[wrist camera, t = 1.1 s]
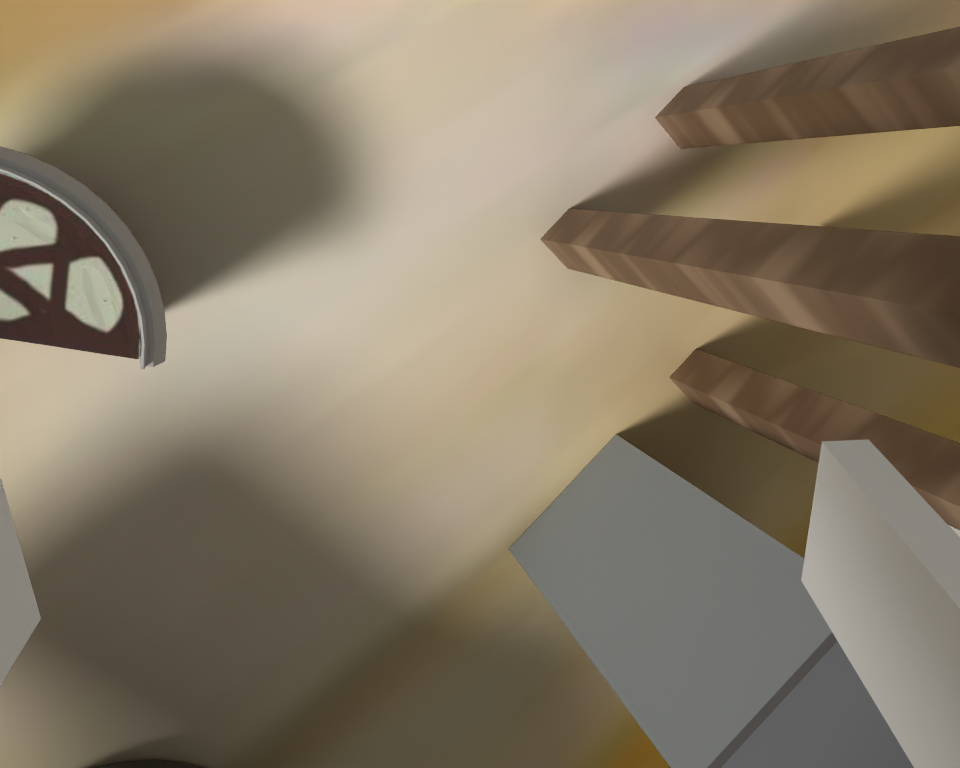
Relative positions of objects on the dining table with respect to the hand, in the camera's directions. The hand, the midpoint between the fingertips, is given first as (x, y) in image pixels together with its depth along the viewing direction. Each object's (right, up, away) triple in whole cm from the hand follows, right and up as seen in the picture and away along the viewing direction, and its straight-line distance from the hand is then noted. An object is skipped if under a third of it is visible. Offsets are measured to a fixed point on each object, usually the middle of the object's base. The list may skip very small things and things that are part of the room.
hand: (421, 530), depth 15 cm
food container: (-17, +9, +23) cm, 30 cm away
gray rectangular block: (+9, -6, +33) cm, 34 cm away
